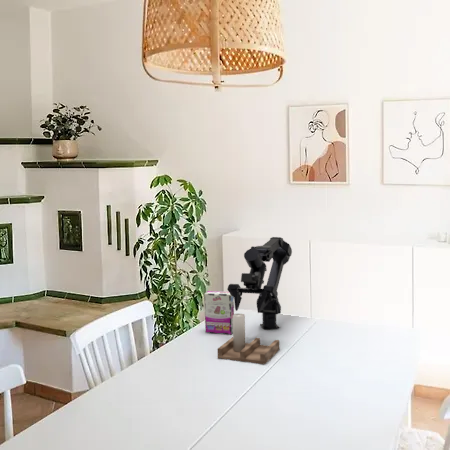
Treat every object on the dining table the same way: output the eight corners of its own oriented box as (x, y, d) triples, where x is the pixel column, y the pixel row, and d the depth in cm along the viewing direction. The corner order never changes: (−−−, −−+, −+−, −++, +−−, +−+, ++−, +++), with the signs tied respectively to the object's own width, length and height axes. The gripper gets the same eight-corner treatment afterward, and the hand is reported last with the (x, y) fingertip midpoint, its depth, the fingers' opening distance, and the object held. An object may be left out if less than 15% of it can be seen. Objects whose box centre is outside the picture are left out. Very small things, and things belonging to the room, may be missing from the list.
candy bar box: (235, 331, 247) (234, 291, 244) (231, 334, 242) (230, 294, 240) (208, 329, 250) (207, 290, 248) (204, 333, 245) (203, 293, 243)
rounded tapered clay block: (231, 349, 222) (230, 314, 220) (241, 347, 224) (240, 312, 222) (237, 352, 218) (236, 317, 216) (247, 350, 220) (247, 315, 218)
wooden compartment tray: (234, 344, 230) (234, 335, 230) (279, 349, 223) (279, 340, 223) (217, 358, 216) (217, 348, 215) (264, 364, 209) (264, 354, 208)
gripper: (227, 263, 233) (217, 299, 225) (273, 264, 225) (264, 301, 216) (237, 278, 241) (227, 313, 233) (281, 280, 233) (273, 316, 225)
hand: (247, 310), depth 226 cm, fingers open, 9 cm apart
